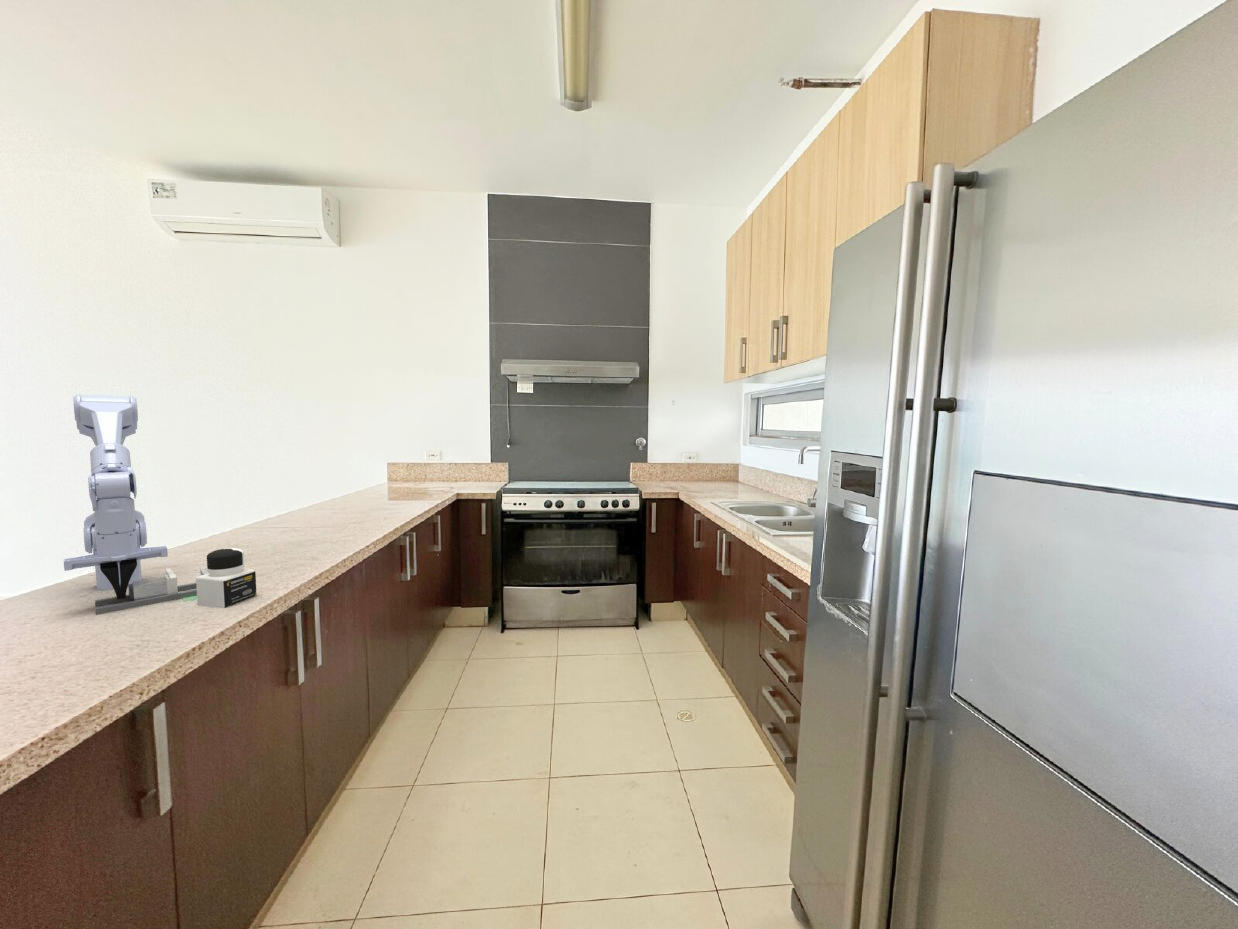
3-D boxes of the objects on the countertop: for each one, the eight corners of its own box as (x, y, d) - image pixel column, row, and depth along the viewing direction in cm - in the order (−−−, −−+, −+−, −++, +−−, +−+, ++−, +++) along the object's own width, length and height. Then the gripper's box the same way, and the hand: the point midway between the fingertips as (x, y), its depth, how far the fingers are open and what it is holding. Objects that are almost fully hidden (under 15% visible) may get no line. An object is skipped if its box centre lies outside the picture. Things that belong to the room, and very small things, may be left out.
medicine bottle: (225, 614, 100) (222, 556, 99) (197, 610, 101) (193, 553, 100) (257, 601, 107) (255, 547, 106) (230, 598, 108) (227, 545, 107)
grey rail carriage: (129, 601, 102) (127, 582, 102) (165, 594, 106) (164, 576, 106) (130, 606, 100) (129, 587, 99) (167, 599, 104) (166, 580, 103)
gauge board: (95, 608, 102) (93, 583, 101) (208, 587, 115) (206, 565, 114) (96, 625, 93) (94, 598, 93) (217, 601, 107) (216, 577, 106)
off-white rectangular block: (164, 591, 108) (163, 569, 108) (174, 589, 109) (172, 567, 109) (169, 602, 102) (167, 578, 102) (179, 600, 103) (178, 577, 103)
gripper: (61, 541, 91) (67, 612, 92) (167, 529, 101) (171, 593, 103) (62, 534, 95) (68, 602, 97) (163, 524, 106) (167, 585, 107)
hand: (121, 597), depth 100 cm, fingers closed
